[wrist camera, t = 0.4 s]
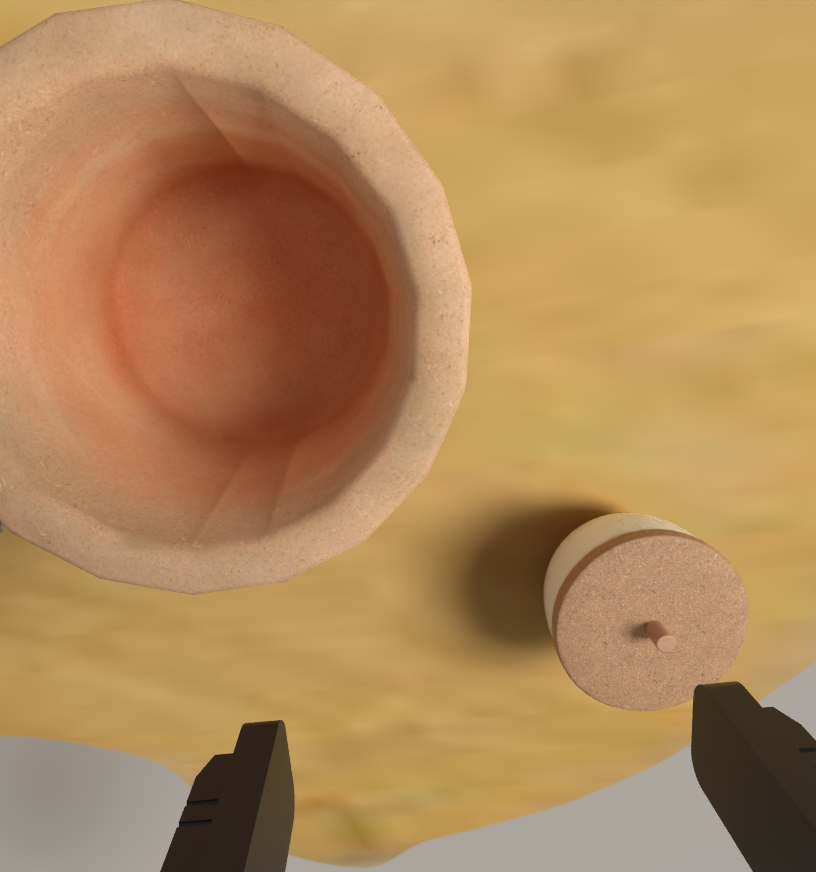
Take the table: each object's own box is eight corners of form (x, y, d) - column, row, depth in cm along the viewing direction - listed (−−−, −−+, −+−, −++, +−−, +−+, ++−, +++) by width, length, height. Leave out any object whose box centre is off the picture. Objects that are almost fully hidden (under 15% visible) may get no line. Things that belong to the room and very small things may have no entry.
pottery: (158, 531, 41) (39, 662, 27) (1, 180, 35) (-248, 114, 21) (482, 428, 40) (536, 506, 26) (371, 53, 35) (361, -102, 21)
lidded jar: (518, 500, 41) (556, 562, 32) (683, 479, 41) (768, 535, 32) (532, 648, 43) (570, 745, 34) (687, 627, 43) (767, 719, 34)
